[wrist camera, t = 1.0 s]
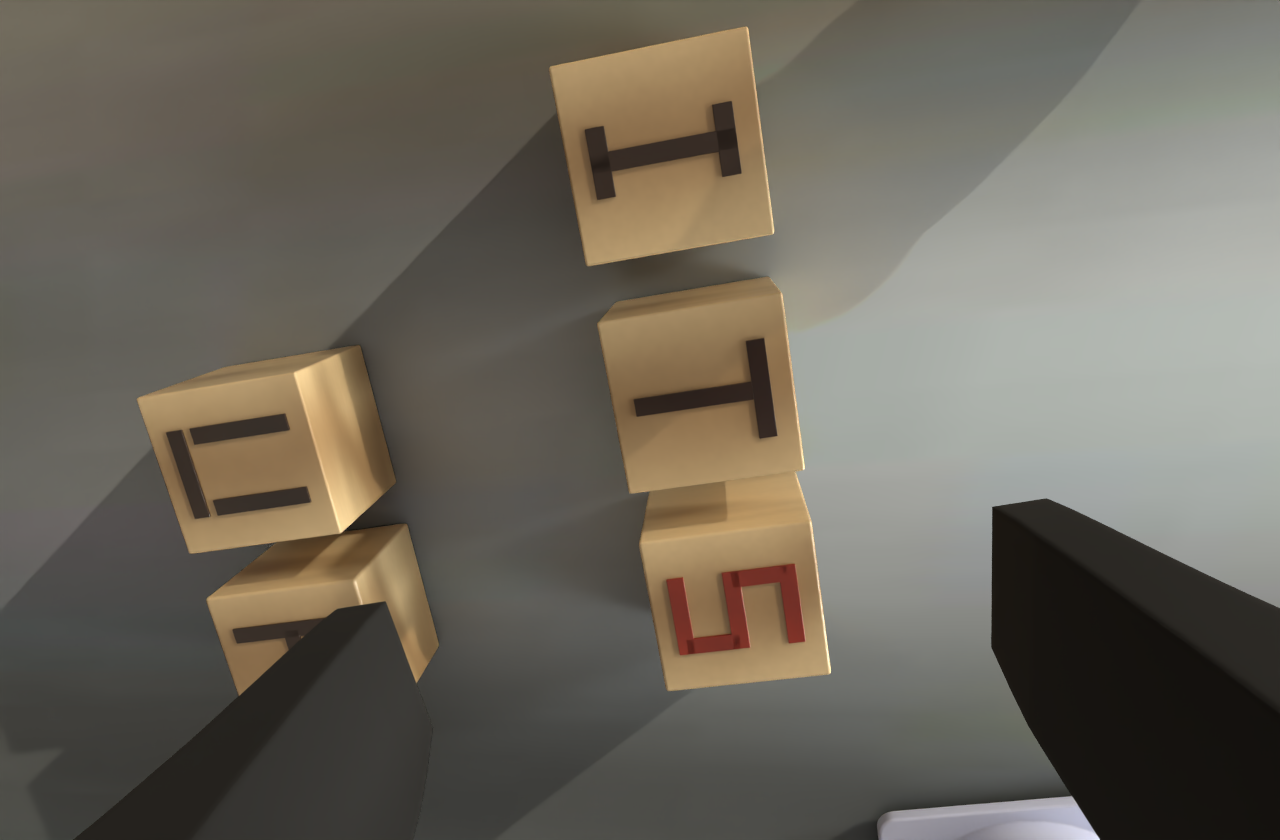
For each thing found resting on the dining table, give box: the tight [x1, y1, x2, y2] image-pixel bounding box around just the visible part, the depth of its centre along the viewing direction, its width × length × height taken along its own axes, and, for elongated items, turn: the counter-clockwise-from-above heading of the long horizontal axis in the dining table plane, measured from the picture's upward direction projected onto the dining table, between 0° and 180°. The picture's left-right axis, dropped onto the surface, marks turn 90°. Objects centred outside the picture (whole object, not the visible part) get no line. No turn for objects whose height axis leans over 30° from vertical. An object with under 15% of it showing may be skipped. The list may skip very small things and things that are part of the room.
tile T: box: [597, 277, 805, 494], centre depth 19 cm, size 4×4×4 cm
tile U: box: [137, 345, 396, 554], centre depth 21 cm, size 4×4×4 cm
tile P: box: [206, 523, 439, 696], centre depth 22 cm, size 4×4×4 cm
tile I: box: [549, 27, 774, 266], centre depth 18 cm, size 4×4×4 cm
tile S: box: [639, 471, 831, 691], centre depth 21 cm, size 4×4×4 cm
